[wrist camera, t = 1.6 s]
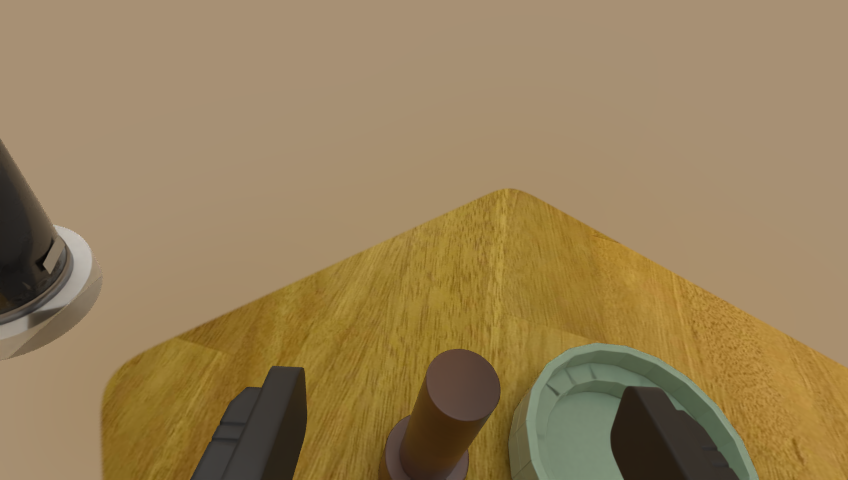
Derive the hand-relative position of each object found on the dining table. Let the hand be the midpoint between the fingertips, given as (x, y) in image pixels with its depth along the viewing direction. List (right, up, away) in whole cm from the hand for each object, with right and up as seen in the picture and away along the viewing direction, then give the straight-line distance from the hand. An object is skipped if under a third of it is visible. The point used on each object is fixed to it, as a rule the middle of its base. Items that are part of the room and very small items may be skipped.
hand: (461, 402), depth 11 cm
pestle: (-1, -11, +17) cm, 20 cm away
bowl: (+11, -12, +19) cm, 25 cm away
